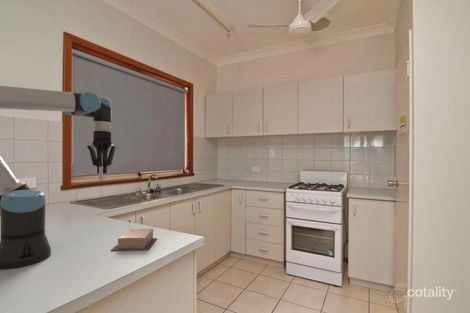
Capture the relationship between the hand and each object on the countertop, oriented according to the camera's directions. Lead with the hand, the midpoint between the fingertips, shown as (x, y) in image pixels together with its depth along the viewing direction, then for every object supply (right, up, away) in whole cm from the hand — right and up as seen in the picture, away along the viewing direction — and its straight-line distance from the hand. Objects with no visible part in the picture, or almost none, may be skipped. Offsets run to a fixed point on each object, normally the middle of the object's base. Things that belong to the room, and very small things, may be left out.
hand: (102, 180), depth 114 cm
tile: (+23, -22, -10) cm, 33 cm away
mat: (+23, -24, -17) cm, 37 cm away
